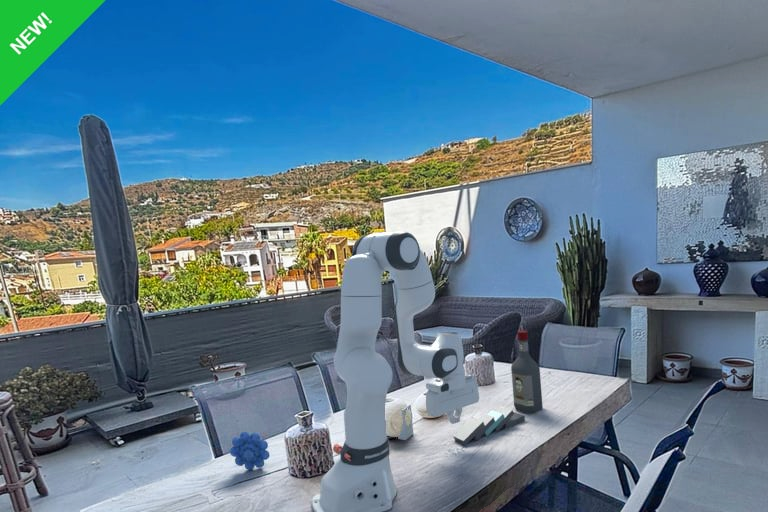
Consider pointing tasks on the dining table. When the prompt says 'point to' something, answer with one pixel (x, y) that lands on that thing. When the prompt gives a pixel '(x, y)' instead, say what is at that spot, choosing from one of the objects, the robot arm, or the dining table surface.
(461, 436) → the domino
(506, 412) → the domino
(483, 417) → the domino
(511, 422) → the domino
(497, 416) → the domino
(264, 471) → the dining table surface
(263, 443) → the blue flower
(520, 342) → the liquor
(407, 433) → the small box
